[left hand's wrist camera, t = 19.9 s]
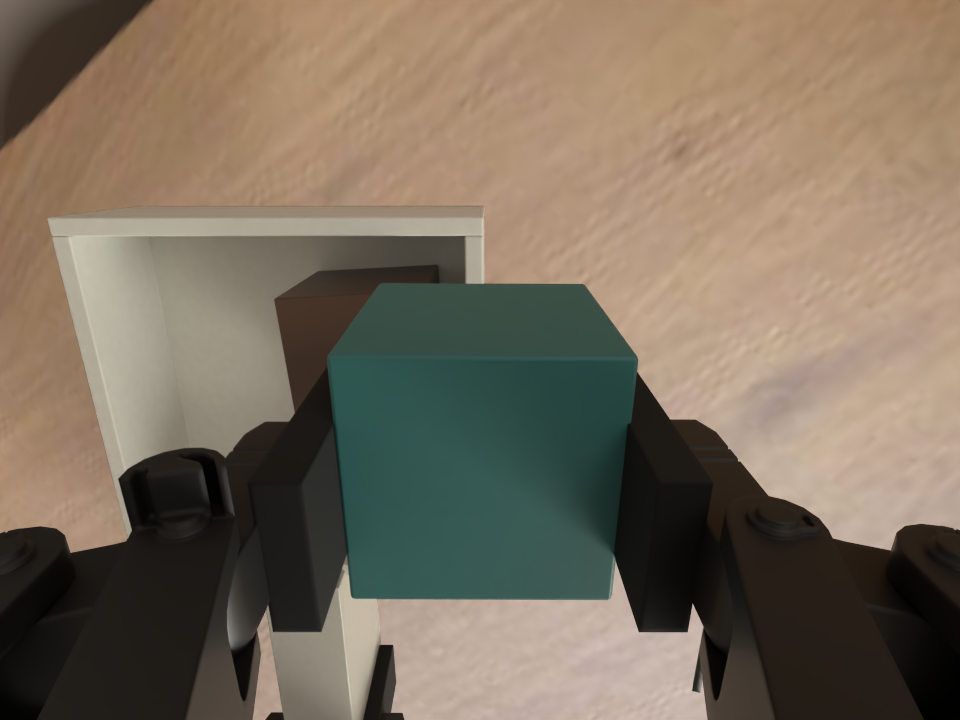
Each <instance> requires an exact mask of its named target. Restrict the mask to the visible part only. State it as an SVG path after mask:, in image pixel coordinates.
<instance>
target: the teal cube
mask: <svg viewBox="0 0 960 720" xmlns="http://www.w3.org/2000/svg"><path fill="white" fill-rule="evenodd" d="M327 366H328V376H329V386H330V396H331V405H332V415H333V423H334V432H335V442H336V452H337V462H338V471H339V481H340V491H341V501H342V511H343V520H344V530H345V540H346V550H347V563H348V573H349V583H350V593H351V597H352V598H354V599H500V600H608V599H610V598H611V595H612V587H613V578H614V570H615V561H616V560H615V557H614V548H615V539H616V530H617V521H618V511H619V502H620V493H621V483H622V474H623V465H624V455H625V446H626V437H627V427H628V424H630V423H631V420H632V411H633V402H634V393H635V385H636V376H637V367H638V358H637V356H636V354H635V353H634V352H633V350H632V349H631V348H630V346H629V345H628V343H627V342H626V341H625V339H624V338H623V337H622V335H621V334H620V333H619V331H618V330H617V328H616V327H615V326H614V324H613V323H612V322H611V320H610V319H609V318H608V316H607V315H606V313H605V312H604V311H603V309H602V308H601V307H600V305H599V304H598V303H597V301H596V300H595V298H594V297H593V296H592V294H591V293H590V292H589V290H588V289H587V287H586V286H585V285H583V284H428V283H381V284H379V285H378V286H377V288H376V289H375V291H374V292H373V293H372V295H371V296H370V297H369V299H368V300H367V302H366V303H365V304H364V306H363V307H362V309H361V310H360V311H359V313H358V314H357V316H356V317H355V318H354V320H353V321H352V323H351V324H350V325H349V327H348V328H347V330H346V331H345V332H344V334H343V335H342V337H341V338H340V339H339V341H338V342H337V344H336V345H335V346H334V348H333V349H332V350H331V352H330V353H329V355H328V357H327Z"/></svg>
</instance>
